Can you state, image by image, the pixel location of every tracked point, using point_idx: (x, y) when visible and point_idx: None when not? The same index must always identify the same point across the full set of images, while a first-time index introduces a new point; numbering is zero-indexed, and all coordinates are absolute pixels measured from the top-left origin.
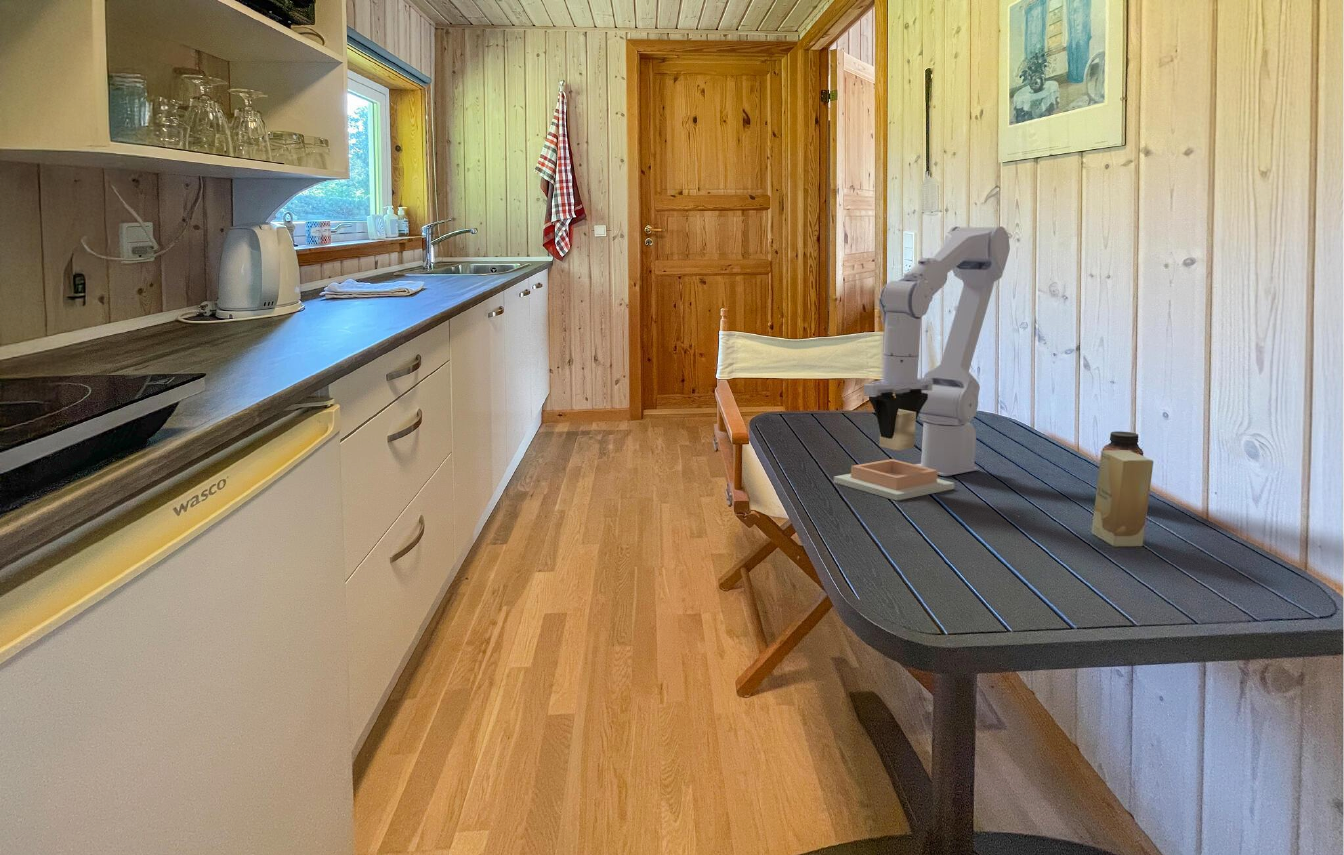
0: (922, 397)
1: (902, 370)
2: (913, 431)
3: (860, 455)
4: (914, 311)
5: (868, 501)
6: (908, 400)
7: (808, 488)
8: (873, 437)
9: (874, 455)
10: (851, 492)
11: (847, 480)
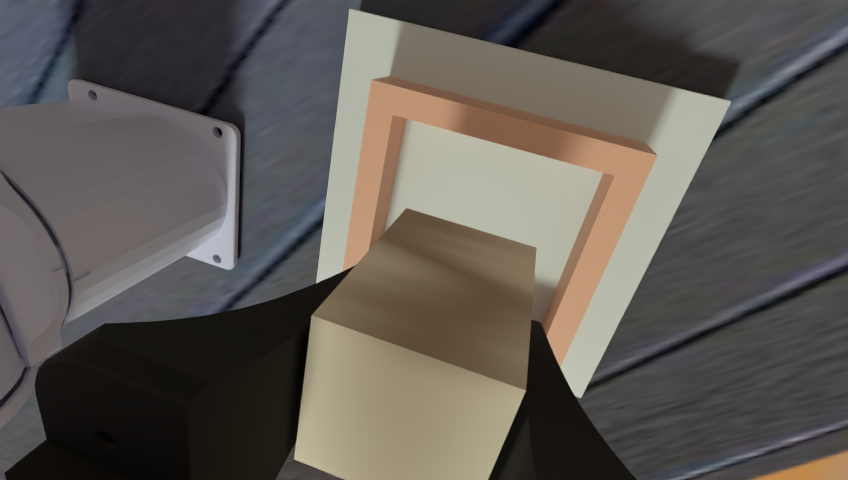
0: (175, 368)
1: None
2: (387, 249)
3: None
4: None
5: (806, 185)
6: (244, 456)
7: (721, 419)
8: None
9: None
10: (686, 291)
11: (606, 346)
